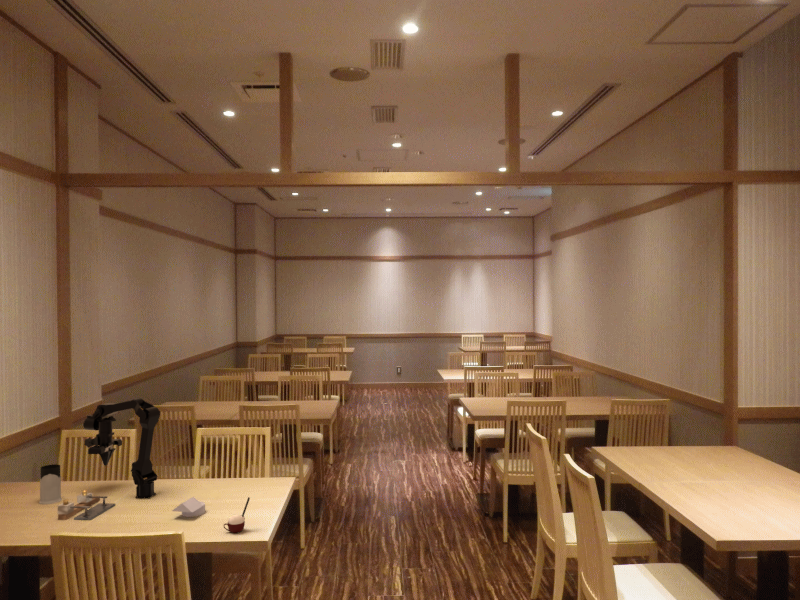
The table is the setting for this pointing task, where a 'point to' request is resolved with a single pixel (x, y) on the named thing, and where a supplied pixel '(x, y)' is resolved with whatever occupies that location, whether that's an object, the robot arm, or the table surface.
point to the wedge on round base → (191, 507)
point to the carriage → (88, 497)
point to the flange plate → (95, 511)
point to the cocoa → (236, 521)
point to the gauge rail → (76, 510)
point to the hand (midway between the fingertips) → (105, 465)
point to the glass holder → (50, 484)
